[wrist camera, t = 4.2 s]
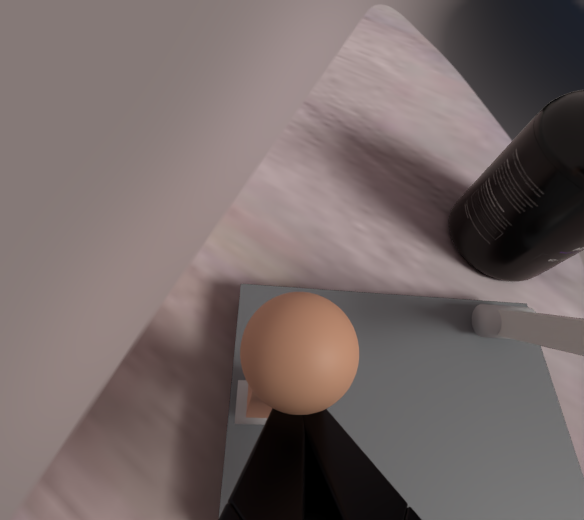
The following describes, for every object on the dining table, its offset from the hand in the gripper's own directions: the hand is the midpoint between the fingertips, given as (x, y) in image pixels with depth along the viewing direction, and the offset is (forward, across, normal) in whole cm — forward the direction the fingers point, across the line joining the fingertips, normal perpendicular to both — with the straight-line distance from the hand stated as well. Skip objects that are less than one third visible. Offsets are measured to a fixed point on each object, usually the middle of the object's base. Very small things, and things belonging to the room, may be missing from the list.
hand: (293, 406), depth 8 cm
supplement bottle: (+15, -14, -2) cm, 21 cm away
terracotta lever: (+5, 0, +4) cm, 6 cm away
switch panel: (+7, -6, +6) cm, 11 cm away
